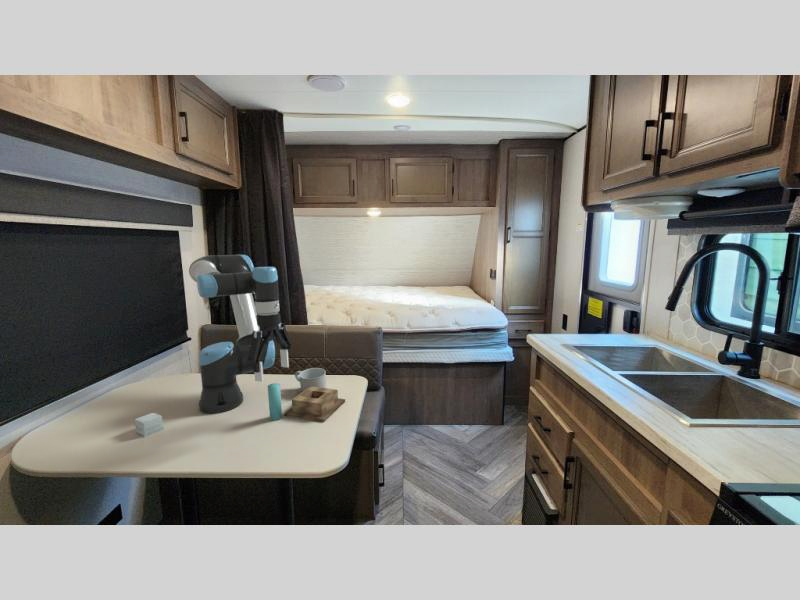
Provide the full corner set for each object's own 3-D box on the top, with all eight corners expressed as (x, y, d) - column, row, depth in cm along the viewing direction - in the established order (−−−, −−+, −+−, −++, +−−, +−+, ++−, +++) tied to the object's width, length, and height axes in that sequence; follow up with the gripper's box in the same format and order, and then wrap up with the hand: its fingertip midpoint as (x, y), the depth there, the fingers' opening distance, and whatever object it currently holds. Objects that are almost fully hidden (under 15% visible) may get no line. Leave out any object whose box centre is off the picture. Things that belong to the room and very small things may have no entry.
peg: (267, 419, 119) (265, 387, 117) (275, 414, 123) (272, 382, 121) (277, 421, 118) (274, 388, 116) (284, 415, 122) (282, 383, 120)
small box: (164, 429, 114) (162, 415, 113) (144, 437, 109) (142, 423, 108) (155, 425, 117) (153, 411, 116) (135, 433, 112) (133, 419, 111)
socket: (284, 415, 122) (283, 401, 121) (309, 396, 137) (308, 383, 136) (324, 422, 117) (323, 407, 116) (345, 401, 132) (344, 388, 131)
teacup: (332, 388, 144) (331, 370, 143) (312, 398, 135) (311, 379, 134) (308, 382, 151) (307, 364, 150) (289, 390, 142) (288, 372, 141)
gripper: (250, 321, 101) (256, 389, 105) (299, 307, 125) (302, 362, 128) (230, 320, 103) (237, 386, 107) (281, 306, 127) (285, 360, 130)
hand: (272, 373), depth 117 cm, fingers open, 13 cm apart
